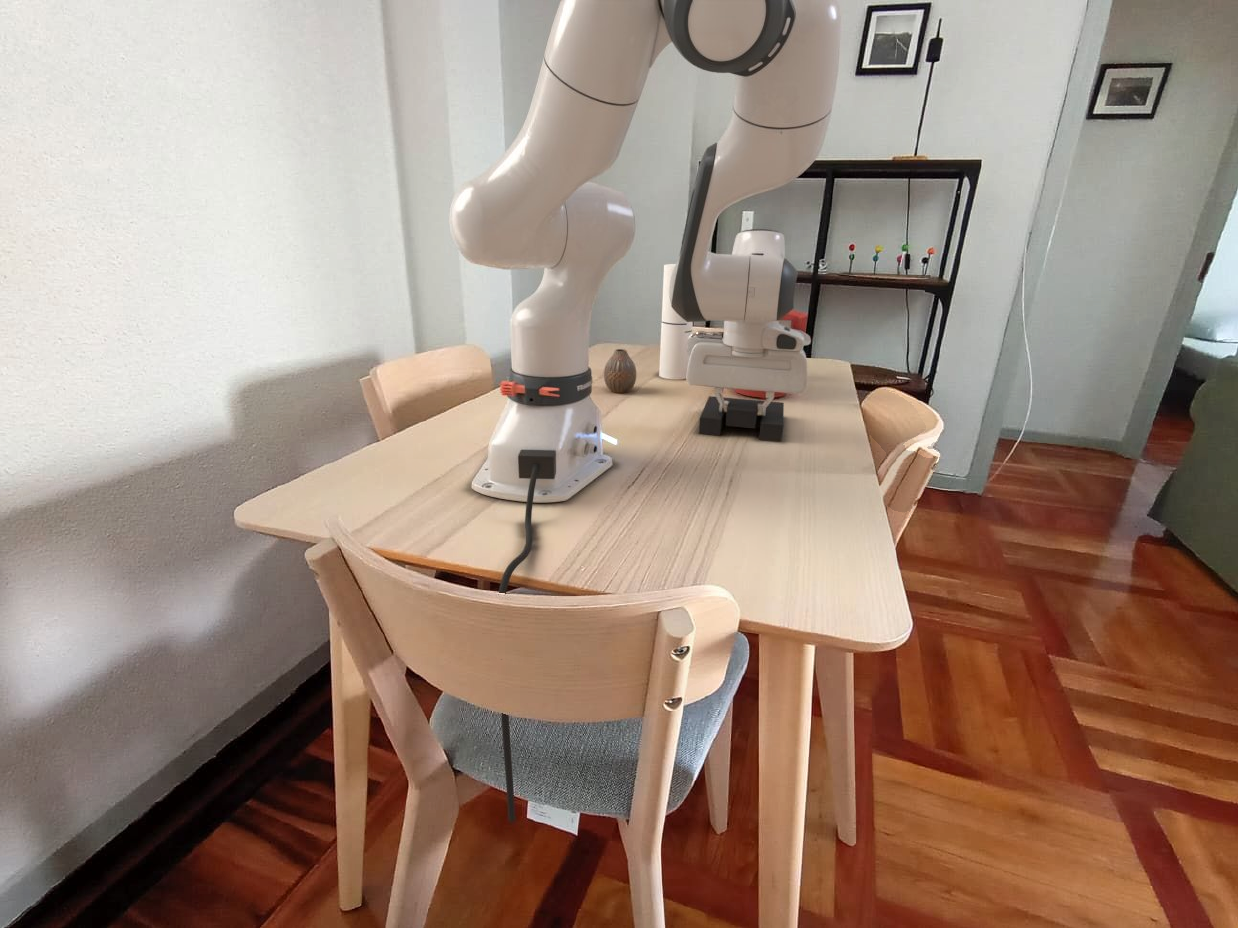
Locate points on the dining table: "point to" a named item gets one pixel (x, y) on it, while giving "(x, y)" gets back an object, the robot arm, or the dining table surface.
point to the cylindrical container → (673, 335)
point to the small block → (741, 414)
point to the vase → (620, 372)
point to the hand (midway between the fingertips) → (742, 413)
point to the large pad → (768, 424)
